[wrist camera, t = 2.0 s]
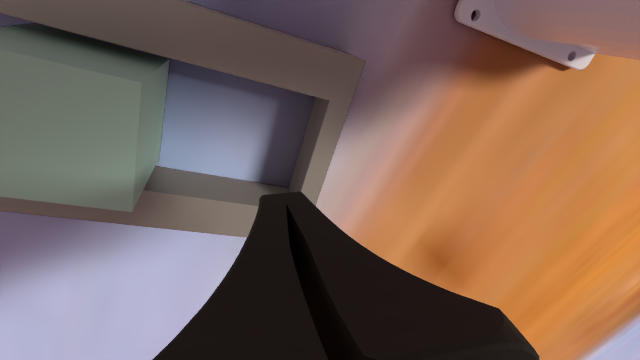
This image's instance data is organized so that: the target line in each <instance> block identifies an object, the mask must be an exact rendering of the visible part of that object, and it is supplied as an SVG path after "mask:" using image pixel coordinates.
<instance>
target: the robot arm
mask: <svg viewBox="0 0 640 360" xmlns="http://www.w3.org/2000/svg"><path fill="white" fill-rule="evenodd" d="M474 10H475V12H476V15H475V18H474V19H473V20H471V14H472V12H473V11H474ZM455 19H456V21H458V22H459V23H462V24H464V25H467V26H469V27H472V28H474V29H476V30H479V31H481V32H484V33H486V34H489V35H491V36H494V37H496V38H499V39H501V40H503V41H506V42H508V43H511V44H513V45H516V46H518V47H521V48H523V49H526V50H528V51H531V52H533V53H535V54H538V55H540V56H543V57H545V58H548V59H550V60H553V61H555V62H558V63H560V64H563V65H565V66H567V67H570V68H572V69H576V70H582V69H584V68H585V67H587V65H588V64H589V63H590V61H591V60H592V58H593V56H594V55H595V53H596V54H603V55H610V56H616V57H623V58H630V59H636V60H640V0H459V2H458V4H457V6H456V9H455ZM569 54H570V56H569ZM568 56H569V57H568ZM153 360H539V356H538V354H537V353H536V351H535V349H534V348H533V347H532V346H531V345H530V343H529V342H528V341H527V340H526V339H525V337H524V336H523V335H522V334H521V333H520V332H519V330H518V329H517V328H516V327H515V326H514V325H513V323H512V322H511V321H510V320H509V319H508V318H507V317H506V316H505V314H504V313H503V312H502V311H501V310H500V309H498V308H496V307H493V306H490V305H487V304H484V303H481V302H478V301H476V300H473V299H470V298H467V297H464V296H461V295H459V294H456V293H453V292H450V291H448V290H446V289H443V288H441V287H439V286H436V285H434V284H432V283H429V282H427V281H425V280H422V279H420V278H418V277H416V276H414V275H412V274H410V273H408V272H406V271H404V270H402V269H400V268H398V267H396V266H395V265H393V264H391V263H389V262H387V261H386V260H384V259H382V258H380V257H379V256H377V255H376V254H374V253H373V252H371V251H369V250H368V249H366V248H365V247H363V246H362V245H360V244H359V243H357V242H356V241H355V240H353V239H352V238H351V237H349V236H348V235H347V234H346V233H344V232H343V231H342V230H341V229H340V228H338V227H337V226H336V225H335V224H334V223H333V222H332V221H331V220H329V219H328V218H327V217H326V216H325V215H324V214H323V213H322V212H321V211H320V210H319V209H318V208H317V207H316V206H315V205H314V204H313V203H312V202H311V201H310V200H309V199H308V198H307V197H306V196H305V195H304V194H303V193H302V192H301V191H300V192H290V193H279V194H268V195H262V196H261V197H260V198H259V207H258V211H257V214H256V217H255V220H254V223H253V225H252V228H251V230H250V233H249V235H248V237H247V239H246V241H245V243H244V245H243V247H242V249H241V251H240V253H239V255H238V257H237V258H236V260H235V262H234V263H233V265H232V267H231V268H230V270H229V271H228V273H227V274H226V276H225V278H224V279H223V280H222V282H221V283H220V285H219V286H218V287H217V289H216V290H215V291H214V293H213V294H212V295H211V297H210V298H209V299H208V301H207V302H206V303H205V304H204V306H203V307H202V308H201V309H200V310H199V311H198V313H197V314H196V315H195V316H194V317H193V318H192V319H191V320H190V322H189V323H188V324H187V325H186V326H185V327H184V328H183V329H182V331H181V332H180V333H179V334H178V335H177V336H176V337H175V338H174V339H173V340H172V341H171V342H170V343H169V344H168V345H167V346H166V347H165V348H164V349H163V350H162V351H161V352H160V353H159V354H158V355H157V356H156V357H155V358H154V359H153Z"/></svg>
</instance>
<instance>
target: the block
mask: <svg viewBox="0 0 640 360" xmlns="http://www.w3.org/2000/svg"><path fill="white" fill-rule="evenodd" d="M169 62H170V59H169V58H165V57H162V56H158V55H154V54H150V53H146V52H143V51H139V50H135V49H131V48H128V47H124V46H120V45H116V44H112V43H109V42H105V41H101V40H97V39H94V38H90V37H86V36H82V35H78V34H75V33H71V32H67V31H63V30H59V29H56V28H52V27H48V26H44V25H41V24H37V23H30V24H21V25H12V26H3V27H0V197H8V198H17V199H25V200H33V201H42V202H50V203H59V204H67V205H75V206H84V207H92V208H101V209H109V210H117V211H126V212H132V211H133V209H134V207H135V205H136V203H137V201H138V199H139V197H140V195H141V193H142V191H143V189H144V187H145V185H146V183H147V181H148V179H149V177H150V175H151V173H152V171H153V169H154V167H155V165H156V163H157V161H158V159H159V156H160V146H161V137H162V128H163V118H164V109H165V99H166V90H167V81H168V71H169Z"/></svg>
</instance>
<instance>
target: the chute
mask: <svg viewBox="0 0 640 360" xmlns="http://www.w3.org/2000/svg"><path fill="white" fill-rule="evenodd" d="M0 13H1V14H5V15H9V16H13V17H16V18H20V19H24V20H28V21H31V22H35V23H39V24H43V25H47V26H50V27H54V28H58V29H62V30H65V31H69V32H73V33H77V34H81V35H84V36H88V37H92V38H96V39H99V40H103V41H107V42H111V43H114V44H118V45H122V46H126V47H130V48H133V49H137V50H141V51H145V52H148V53H152V54H156V55H160V56H163V57H167V58H171V59H175V60H179V61H182V62H186V63H190V64H194V65H197V66H201V67H205V68H209V69H213V70H216V71H220V72H224V73H228V74H231V75H235V76H239V77H243V78H246V79H250V80H254V81H258V82H262V83H265V84H269V85H273V86H277V87H280V88H284V89H288V90H292V91H295V92H299V93H303V94H307V95H311V96H314V97H315V100H314V103H313V107H312V110H311V113H310V117H309V120H308V124H307V127H306V130H305V134H304V137H303V140H302V144H301V147H300V150H299V154H298V157H297V160H296V164H295V167H294V170H293V174H292V177H291V181H290V184H289V187H288V188H287V187H281V186H274V185H268V184H262V183H256V182H250V181H244V180H238V179H232V178H225V177H219V176H213V175H207V174H201V173H195V172H189V171H183V170H177V169H170V168H164V167H158V166H155V167H154V169H153V171H152V173H151V175H150V177H149V179H148V181H147V183H146V185H145V187H144V189H143V191H142V193H141V195H140V197H139V199H138V201H137V203H136V205H135V207H134V209H133V211H132V212H126V211H117V210H109V209H101V208H92V207H84V206H75V205H67V204H59V203H50V202H42V201H33V200H25V199H17V198H8V197H0V211H5V212H15V213H24V214H33V215H43V216H52V217H61V218H71V219H80V220H89V221H98V222H108V223H117V224H126V225H136V226H145V227H154V228H164V229H173V230H182V231H192V232H201V233H210V234H219V235H229V236H238V237H248V235H249V233H250V230H251V228H252V225H253V223H254V220H255V217H256V214H257V211H258V207H259V198H260V197H261V196H262V195H268V194H279V193H290V192H300V191H301V192H302V193H303V194H304V195H305V196H306V197H307V198H308V199H309V200H310V201H311V202H312V203H313V204H314V205H316V203H317V200H318V197H319V194H320V191H321V188H322V185H323V182H324V179H325V177H326V174H327V171H328V168H329V165H330V162H331V159H332V156H333V153H334V151H335V148H336V145H337V142H338V139H339V136H340V133H341V130H342V127H343V125H344V122H345V119H346V116H347V113H348V110H349V107H350V104H351V101H352V99H353V96H354V93H355V90H356V87H357V84H358V81H359V78H360V75H361V73H362V70H363V67H364V64H365V61H363V60H361V59H359V58H357V57H354V56H352V55H350V54H348V53H345V52H342V51H339V50H336V49H333V48H330V47H326V46H323V45H320V44H317V43H314V42H311V41H308V40H305V39H302V38H299V37H295V36H292V35H289V34H286V33H283V32H280V31H277V30H274V29H271V28H267V27H264V26H261V25H258V24H255V23H252V22H249V21H246V20H243V19H240V18H236V17H233V16H230V15H227V14H224V13H221V12H218V11H215V10H212V9H209V8H205V7H202V6H199V5H196V4H193V3H190V2H187V1H184V0H0Z"/></svg>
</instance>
